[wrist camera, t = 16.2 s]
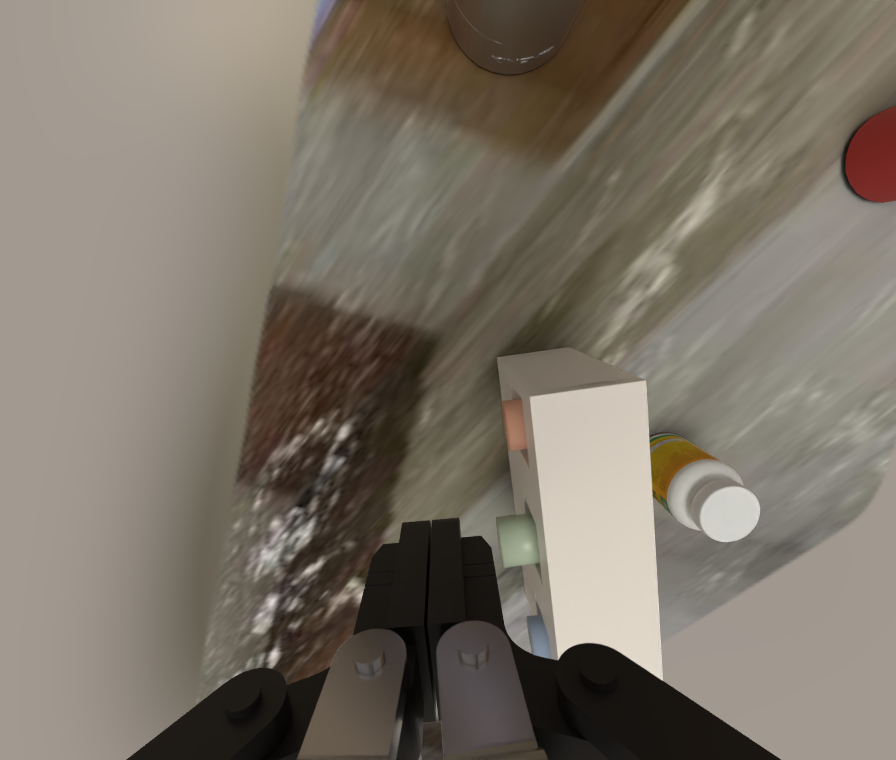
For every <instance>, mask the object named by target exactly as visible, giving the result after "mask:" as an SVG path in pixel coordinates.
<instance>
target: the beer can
mask: <svg viewBox="0 0 896 760" xmlns="http://www.w3.org/2000/svg"><path fill="white" fill-rule="evenodd" d="M845 171H846V175H847V178H848V181H849V184H850V185H851V186H852V187H853V189H854V190H855V191H856V193H857V194H859V195H860V196H862V197H864V198H865V199H867V200H870V201H875V202H881V203H884V202H890V201H896V106H894V107H892V108H889V109H887V110H884V111H882V112H881V113H879V114H877V115H875V116H873V117H871V118H870V119H869V120H868V121H867V122H866V123H865V124H864V125H863V126H862V127H860V128H859V129H858V131H857V132H856V134H855V136H854V137H853V139H852V141H851V142H850V145H849V148H848V151H847V155H846V165H845Z"/></svg>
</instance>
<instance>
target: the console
mask: <svg viewBox="0 0 896 760" xmlns="http://www.w3.org/2000/svg"><path fill="white" fill-rule="evenodd" d="M497 364H498V372H499V381H500V389H501V397H502V401H506V400H513V399H522V406H523V414H524V423H525V432H526V441H527V449H523V450H515V451H509V449H508V455H509V463H510V471H511V480H512V488H513V496H514V504H515V513H516V515H517V514H525V513H531V514H532V516H533V519H534V521H535V524H536V530H537V539H538V548H539V557H540V563H536V564H528V565H522V570H523V578H524V587H525V594H526V598H527V601H528V605H529V608H530V612H531V616H534V615H541V614H542V618H543V621H544V624H545V627H546V630H547V634H548V637H549V646H550V655H551V659H554V660H559V658H560V656H561V655H562V654H563V653H564V651H566V650H567V649H568V648H570V647H572V646H574V645H578V644H582V643H596V644H602V645H605V646H608V647H611V648H613V649H615V650H617V651H618V652H620V653H622V654H623V655H625V656H626V657H628V658H629V659H631V660H632V661H634V662H635V663H637V664H638V665H640V666H641V667H643V668H644V669H646V670H647V671H649V672H650V673H652V674H653V675H655V676H656V677H658V678H659V679H661V680H662V681H663V675H662V657H661V639H660V621H659V603H658V585H657V567H656V549H655V532H654V514H653V496H652V478H651V460H650V442H649V424H648V406H647V388H646V380H644V379H642V378H639V377H637V376H635V375H632V374H630V373H628V372H626V371H623V370H621V369H619V368H616V367H614V366H612V365H610V364H607V363H605V362H603V361H600V360H598V359H596V358H593V357H591V356H589V355H587V354H584V353H582V352H580V351H577V350H575V349H573V348H571V347H566V348H559V349H552V350H545V351H538V352H531V353H524V354H517V355H510V356H503V357H497ZM507 447H508V446H507Z"/></svg>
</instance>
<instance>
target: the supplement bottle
mask: <svg viewBox="0 0 896 760" xmlns="http://www.w3.org/2000/svg"><path fill="white" fill-rule="evenodd" d="M649 442H650V460H651V478H652V496H653V497H654V498H655V499H656V500H657V501H658V502H659V503H660V504H661V505H662V506H663V507H664V508H665V509H666V510H667V511H668V512H669V513H670V514H671V515H672V516H673V517H674V518H675V519H676V520H678V521H679V522H680V523H681V524H683V525H685V526H686V527H689V528H691V529H695V530H700V531H703V532H704V533H705V534H706V535H708V536H709V537H710V538H712V539H714V540H717V541H721V542H732V541H736V540H739V539H741V538H743V537H745V536H746V535H747V534H749V533H750V532H751V531H752V530H753V529H754V527H755V526H756V524H757V522H758V519H759V515H760V506H759V502H758V500H757V498H756V497H755V495H754V494H753V493H752V492H751V491H749V490H748V489H746V488H745V487H744V485H743V482H742V480H741V478H740V476H739V475H738V474H737V472H736V471H735V470H734V469H733V468H731V467H730V466H729V465H727V464H725V463H724V462H722V461H720V460H719V459H717V458H715V457H714V456H712V455H710V454H709V453H707V452H705V451H704V450H702V449H701V448H699V447H697V446H696V445H694V444H692V443H691V442H689V441H687V440H686V439H684V438H683V437H681V436H678V435H675V434H670V433H666V434H658V435H654V436H652V437H650V438H649Z"/></svg>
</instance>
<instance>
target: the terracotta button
mask: <svg viewBox="0 0 896 760" xmlns="http://www.w3.org/2000/svg"><path fill="white" fill-rule="evenodd" d="M501 407H502V419H503V426H504V432H505V437H506V442H507V446H508V449H509V451H515V450H523V449H527V441H526V432H525V423H524V414H523V406H522V399H513V400H506V401H502V404H501Z"/></svg>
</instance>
